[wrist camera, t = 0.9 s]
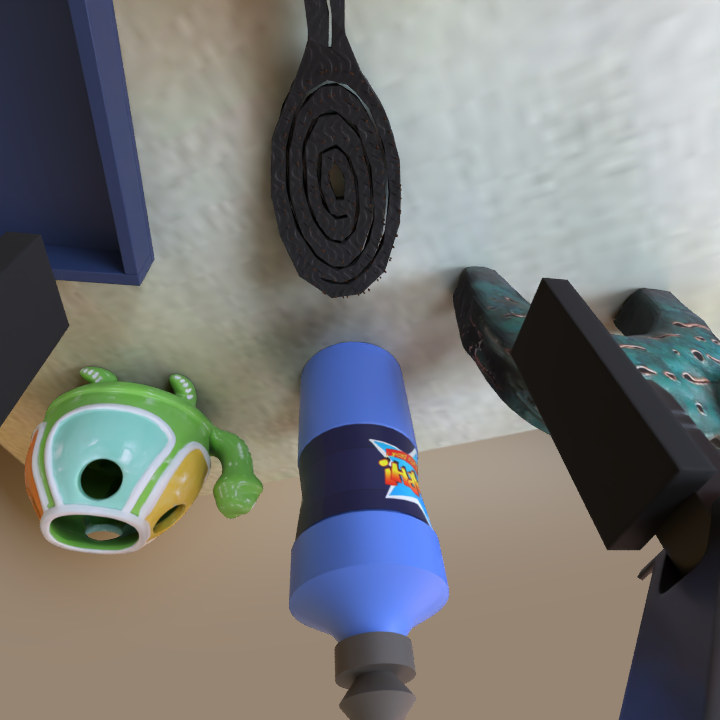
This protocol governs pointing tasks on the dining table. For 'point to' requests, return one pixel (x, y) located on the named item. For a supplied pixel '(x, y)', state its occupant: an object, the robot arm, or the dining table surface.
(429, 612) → the water bottle
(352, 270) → the hairbrush
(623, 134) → the dining table surface
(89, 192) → the tray
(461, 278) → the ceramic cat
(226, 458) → the turtle holder
